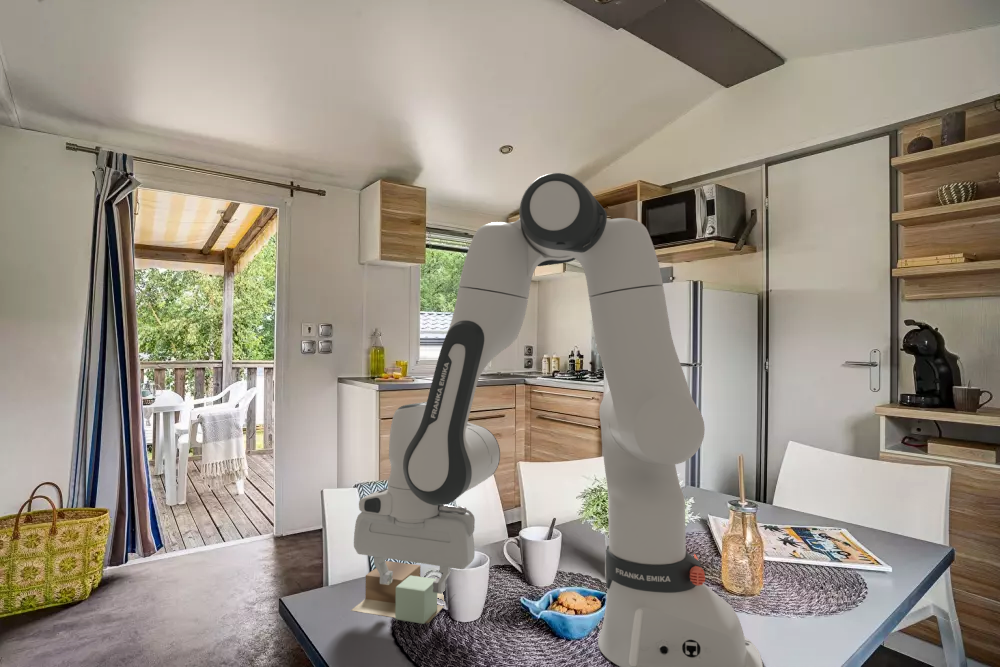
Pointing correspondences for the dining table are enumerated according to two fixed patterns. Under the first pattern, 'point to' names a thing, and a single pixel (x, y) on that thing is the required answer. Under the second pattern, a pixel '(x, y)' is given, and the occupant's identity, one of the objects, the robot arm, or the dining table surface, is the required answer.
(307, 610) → the dining table surface
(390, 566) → the walnut base
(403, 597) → the sage cube
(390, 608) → the birch board
